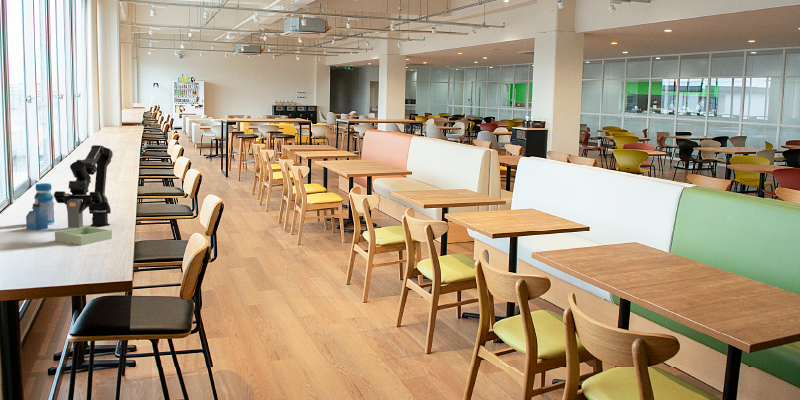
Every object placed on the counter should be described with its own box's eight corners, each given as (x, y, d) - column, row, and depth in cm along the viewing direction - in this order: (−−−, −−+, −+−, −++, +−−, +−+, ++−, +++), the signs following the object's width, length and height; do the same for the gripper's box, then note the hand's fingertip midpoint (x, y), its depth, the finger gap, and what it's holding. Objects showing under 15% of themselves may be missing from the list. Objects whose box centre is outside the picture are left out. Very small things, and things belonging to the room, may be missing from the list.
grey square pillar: (72, 225, 269) (71, 199, 267) (83, 225, 270) (82, 199, 268) (67, 227, 264) (66, 201, 262) (78, 228, 264) (77, 201, 263)
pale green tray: (86, 234, 279) (86, 226, 278) (111, 238, 273) (111, 230, 272) (55, 240, 264) (54, 231, 263) (81, 245, 258) (80, 236, 257)
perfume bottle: (47, 228, 289) (46, 203, 287) (36, 230, 283) (35, 205, 281) (38, 227, 291) (37, 202, 289) (26, 229, 285) (25, 204, 283)
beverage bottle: (45, 225, 294) (44, 185, 291) (31, 224, 296) (29, 184, 293) (58, 222, 302) (57, 183, 299) (44, 221, 304) (42, 182, 301)
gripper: (54, 173, 266) (45, 201, 257) (99, 174, 269) (91, 202, 260) (61, 188, 274) (53, 216, 265) (105, 189, 278) (98, 216, 269)
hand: (74, 212), depth 265 cm, fingers closed on grey square pillar, 4 cm apart
